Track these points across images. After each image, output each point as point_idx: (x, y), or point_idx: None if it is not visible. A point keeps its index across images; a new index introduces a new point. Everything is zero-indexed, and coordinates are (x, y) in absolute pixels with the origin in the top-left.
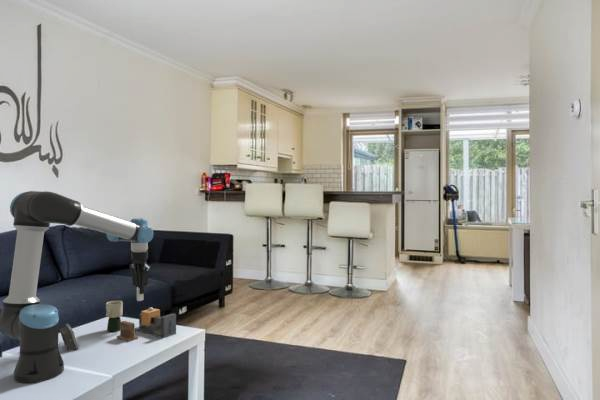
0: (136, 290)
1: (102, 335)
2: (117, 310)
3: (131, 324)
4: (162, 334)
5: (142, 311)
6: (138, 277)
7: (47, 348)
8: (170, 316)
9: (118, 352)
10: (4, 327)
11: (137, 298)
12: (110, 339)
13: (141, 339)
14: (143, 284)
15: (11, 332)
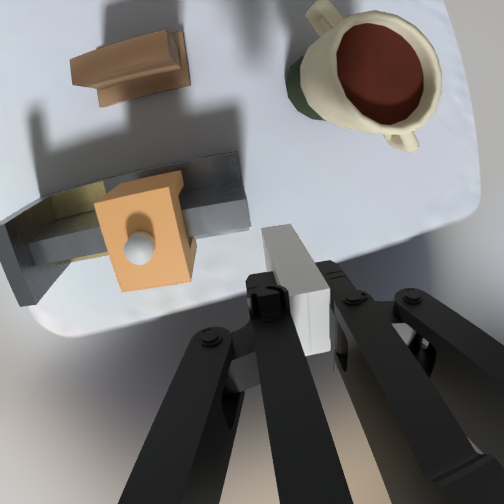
0: (340, 274)
1: (284, 13)
2: (311, 63)
3: (70, 66)
4: (39, 199)
5: (157, 189)
6: (378, 416)
7: None
8: (6, 270)
9: (29, 3)
10: None
11: (283, 233)
12: (193, 10)
13: (83, 115)
14: (188, 357)
15: None
